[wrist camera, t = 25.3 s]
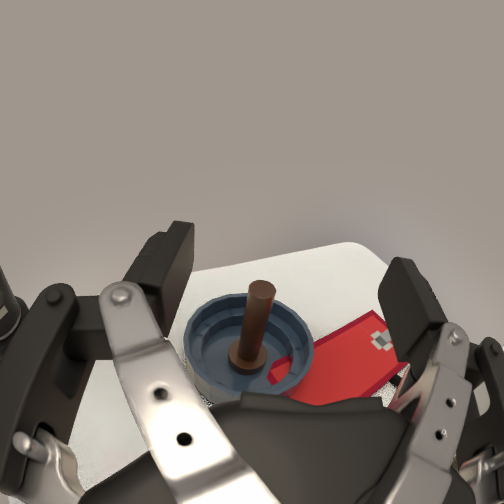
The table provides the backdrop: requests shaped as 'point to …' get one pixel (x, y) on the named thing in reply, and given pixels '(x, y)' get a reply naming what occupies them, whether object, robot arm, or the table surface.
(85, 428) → the table surface
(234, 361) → the brown cylinder
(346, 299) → the table surface
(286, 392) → the bowl
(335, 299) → the table surface
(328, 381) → the red board with handle
